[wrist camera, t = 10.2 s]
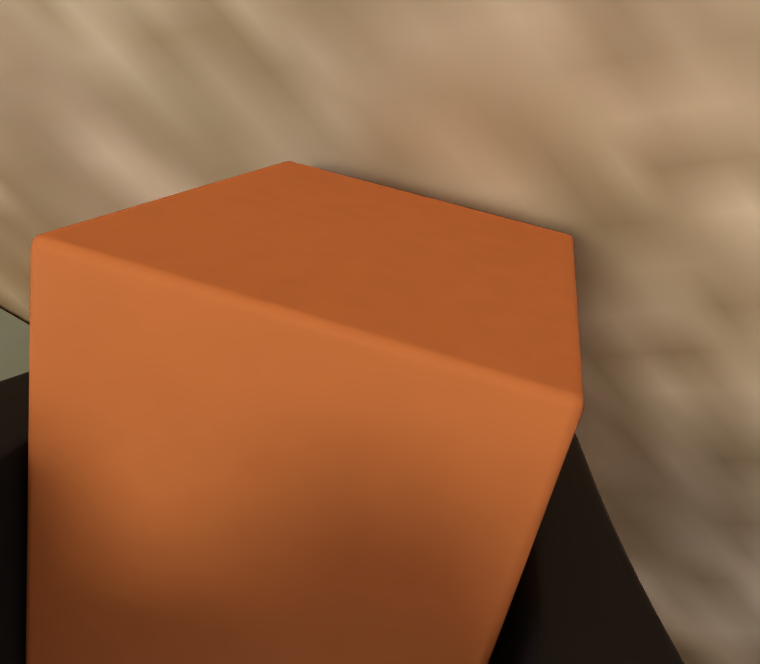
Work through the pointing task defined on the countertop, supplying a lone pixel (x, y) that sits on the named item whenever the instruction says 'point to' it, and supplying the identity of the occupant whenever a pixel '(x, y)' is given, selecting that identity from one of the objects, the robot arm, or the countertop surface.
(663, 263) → the countertop surface
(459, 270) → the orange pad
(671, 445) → the countertop surface
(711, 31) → the countertop surface
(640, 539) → the countertop surface
